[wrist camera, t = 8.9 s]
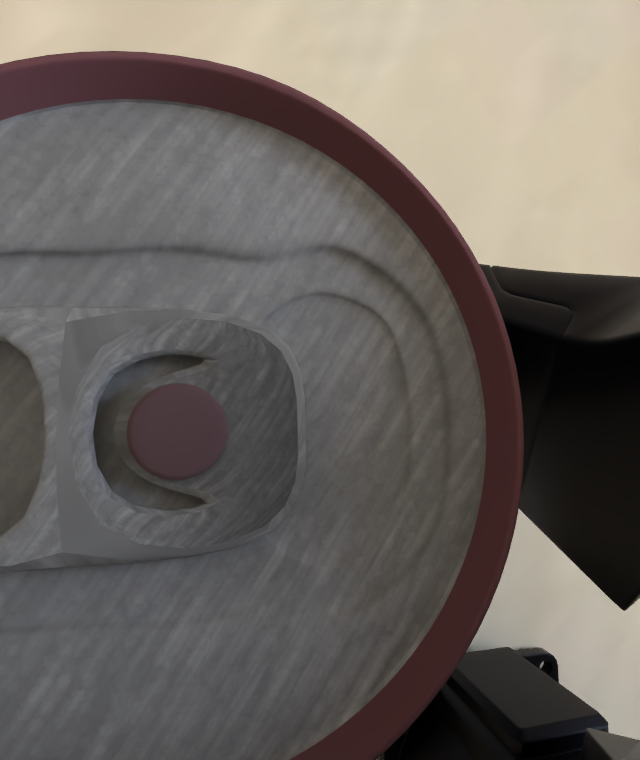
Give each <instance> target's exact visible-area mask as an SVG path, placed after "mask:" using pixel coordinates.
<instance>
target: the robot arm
mask: <svg viewBox="0 0 640 760" xmlns="http://www.w3.org/2000/svg"><path fill="white" fill-rule="evenodd" d="M479 266H480V267H481V269H482V271H483V273H484V275H485V277H486V279H487V282H488V284H489V286H490V288H491V290H492V292H493V295H494V297H495V300H496V302H497V305H498V307H499V310H500V313H501V315H502V318H503V321H504V324H505V327H506V331H507V334H508V337H509V340H510V344H511V348H512V352H513V356H514V361H515V365H516V369H517V375H518V381H519V387H520V394H521V403H522V414H523V433H524V456H523V476H522V485H521V495H520V502H519V509H520V510H521V511H522V512H523V513H524V514H525V515H526V516H527V517H528V518H529V519H530V520H531V521H532V522H533V523H534V524H535V525H536V526H537V527H538V528H539V529H540V530H541V531H542V532H543V533H544V534H545V535H546V536H547V537H548V538H549V539H550V540H551V541H552V542H553V543H554V544H555V545H556V546H557V547H558V548H559V549H560V550H561V551H563V552H564V553H565V554H566V555H567V556H568V557H569V558H570V559H571V560H572V561H573V562H574V563H575V564H576V565H577V566H578V567H579V568H580V569H581V570H582V571H583V572H584V573H585V574H586V575H587V576H588V577H589V578H590V579H591V580H592V581H593V582H594V583H595V584H596V585H597V586H598V587H599V588H600V589H601V590H602V591H603V592H604V593H605V594H606V595H607V596H608V597H609V598H610V599H611V600H612V601H613V602H614V603H615V604H617V605H618V606H619V607H620V608H621V609H622V610H624V611H625V610H627V609H628V608H629V607H630V606H631V605H632V604H633V603H634V602H635V601H637V600H638V599H639V598H640V277H628V276H611V275H593V274H576V273H561V272H547V271H536V270H526V269H517V268H508V267H500V266H492V268H491V267H490V266H489V265H483V264H479ZM543 661H544V664H543V667H542V668H541V669H539V667H540V664H541V663H542V662H543ZM380 760H640V740H636V739H632V738H628V737H624V736H619V735H615V734H611V733H608V722H607V721H606V720H605V719H604V718H603V717H602V716H601V715H600V714H599V713H598V712H597V711H596V710H595V709H593V708H592V707H591V706H589V705H588V704H586V703H585V702H584V701H582V700H581V699H580V698H578V697H577V696H575V695H574V694H573V693H571V692H570V691H569V690H567V689H566V688H565V687H563V686H562V685H560V684H559V679H558V665H557V660H556V659H555V657H554V656H553V655H551V654H550V653H548V652H547V651H545V650H544V649H542V648H532V649H525V650H518V651H514V650H512V649H511V648H509V647H504V648H497V649H490V650H483V651H476V652H469V653H465V654H464V656H463V658H462V659H461V661H460V662H459V664H458V665H457V667H456V668H455V670H454V671H453V673H452V674H451V676H450V677H449V679H448V680H447V682H446V683H445V684H444V686H443V687H442V688H441V690H440V691H439V692H438V694H437V695H436V696H435V697H434V699H433V700H432V701H431V703H430V704H429V705H428V707H427V708H426V709H425V710H424V711H423V712H422V713H421V715H420V716H419V717H418V718H417V719H416V720H415V721H414V722H413V724H412V725H411V726H410V727H409V728H408V729H407V730H406V731H405V732H404V733H403V734H402V735H401V736H400V737H399V738H398V739H397V740H396V741H395V742H394V743H393V744H392V745H391V746H390V747H389V748H388V749H387V750H386V751H385V752H384V753H383V754H381V755H380Z"/></svg>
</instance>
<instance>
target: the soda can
mask: <svg viewBox="0 0 640 760" xmlns="http://www.w3.org/2000/svg"><path fill="white" fill-rule="evenodd" d="M523 456H524V433H523V414H522V403H521V394H520V387H519V381H518V375H517V369H516V365H515V361H514V356H513V352H512V348H511V344H510V340H509V337H508V334H507V331H506V327H505V324H504V321H503V318H502V315H501V313H500V310H499V307H498V305H497V302H496V300H495V297H494V295H493V292H492V290H491V288H490V286H489V284H488V282H487V279H486V277H485V275H484V273H483V271H482V269H481V267H480V266H479V264H478V262H477V260H476V258H475V256H474V255H473V253H472V251H471V249H470V248H469V246H468V244H467V243H466V241H465V240H464V238H463V237H462V235H461V233H460V232H459V230H458V229H457V227H456V226H455V225H454V223H453V222H452V220H451V219H450V218H449V216H448V215H447V214H446V212H445V211H444V210H443V208H442V207H441V206H440V204H439V203H438V202H437V201H436V200H435V199H434V197H433V196H432V195H431V194H430V193H429V192H428V190H427V189H426V188H425V187H424V186H423V185H422V184H421V183H420V181H419V180H418V179H417V178H416V177H415V176H414V175H413V174H412V173H411V172H410V171H409V170H408V169H407V168H406V167H405V166H404V165H403V164H402V163H401V162H400V161H398V160H397V159H396V158H395V157H394V156H393V155H392V154H391V153H390V152H389V151H388V150H387V149H385V148H384V147H383V146H382V145H381V144H379V143H378V142H377V141H376V140H374V139H373V138H372V137H371V136H369V135H368V134H367V133H366V132H365V131H363V130H362V129H360V128H359V127H358V126H356V125H355V124H353V123H352V122H351V121H349V120H348V119H346V118H345V117H343V116H342V115H341V114H339V113H337V112H336V111H334V110H332V109H331V108H329V107H327V106H326V105H324V104H322V103H321V102H319V101H318V100H316V99H314V98H312V97H310V96H308V95H306V94H304V93H302V92H300V91H298V90H296V89H294V88H292V87H290V86H287V85H285V84H282V83H280V82H277V81H275V80H272V79H270V78H267V77H265V76H262V75H259V74H255V73H252V72H249V71H246V70H243V69H239V68H236V67H232V66H228V65H224V64H219V63H215V62H211V61H207V60H200V59H194V58H188V57H182V56H176V55H166V54H157V53H147V52H124V51H99V52H76V53H65V54H55V55H46V56H40V57H34V58H28V59H23V60H17V61H12V62H8V63H4V64H0V760H376V759H377V758H378V757H379V756H380V755H381V754H383V753H384V752H385V751H386V750H387V749H388V748H389V747H390V746H391V745H392V744H393V743H394V742H395V741H396V740H397V739H398V738H399V737H400V736H401V735H402V734H403V733H404V732H405V731H406V730H407V729H408V728H409V727H410V726H411V725H412V724H413V722H414V721H415V720H416V719H417V718H418V717H419V716H420V715H421V713H422V712H423V711H424V710H425V709H426V708H427V707H428V705H429V704H430V703H431V701H432V700H433V699H434V697H435V696H436V695H437V694H438V692H439V691H440V690H441V688H442V687H443V686H444V684H445V683H446V682H447V680H448V679H449V677H450V676H451V674H452V673H453V671H454V670H455V668H456V667H457V665H458V664H459V662H460V661H461V659H462V658H463V656H464V654H465V652H466V651H467V649H468V647H469V645H470V644H471V642H472V640H473V638H474V636H475V635H476V633H477V631H478V629H479V627H480V625H481V623H482V621H483V619H484V616H485V614H486V612H487V610H488V608H489V606H490V604H491V601H492V599H493V596H494V594H495V591H496V589H497V586H498V584H499V581H500V578H501V575H502V572H503V569H504V566H505V563H506V560H507V557H508V553H509V549H510V545H511V541H512V537H513V533H514V529H515V525H516V519H517V514H518V508H519V502H520V495H521V485H522V476H523Z"/></svg>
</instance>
